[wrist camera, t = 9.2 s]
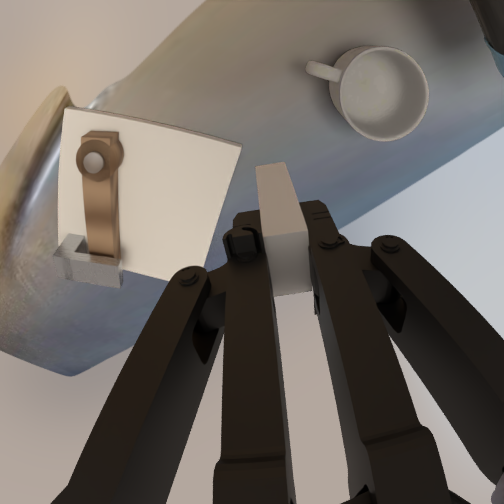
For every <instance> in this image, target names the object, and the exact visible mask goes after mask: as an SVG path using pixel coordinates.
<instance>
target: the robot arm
mask: <svg viewBox="0 0 504 504" xmlns="http://www.w3.org/2000/svg"><path fill="white" fill-rule="evenodd" d="M469 1H470V3H471V5H472V7H473V9H474V12H475V14H476V16H477V19H478V21H479V23H480V26H481V28H482V31H483V33H484V39H485V42H486V44H487V46H488V47H489V48H490V50H491V53H492V55H493V58H494V60H495V63H496V66H497V68H498V70H499V72H500V73H501V75H502V76H503V77H504V0H469ZM255 169H256V178H257V188H258V198H259V207H260V210H254V211H247V212H241V213H238V214H237V215H236V217H235V218H234V219H233V229H231V230H229V231H227V232H226V233H225V234H224V236H223V239H222V240H223V244H224V247H225V251H226V255H227V259H228V260H227V263H226V264H224V265H223V266H221V267H220V268H217V269H215V270H213V271H210V272H207V271H206V269H205V268H203V267H201V266H188V267H185V268H182V269H180V270H179V271H177V272H176V273H175V274H174V275H173V276H172V278H171V279H170V281H169V283H168V285H167V286H166V288H165V290H164V292H163V293H162V295H161V297H160V299H159V301H158V302H157V304H156V306H155V308H154V310H153V311H152V313H151V315H150V317H149V319H148V321H147V322H146V324H145V326H144V328H143V330H142V332H141V334H140V335H139V337H138V339H137V341H136V343H135V345H134V347H133V349H132V351H131V353H130V354H129V356H128V358H127V360H126V362H125V364H124V366H123V368H122V370H121V372H120V374H119V376H118V378H117V380H116V382H115V384H114V386H113V388H112V390H111V392H110V394H109V396H108V398H107V400H106V402H105V404H104V406H103V408H102V410H101V412H100V415H99V417H98V419H97V421H96V423H95V425H94V427H93V429H92V432H91V434H90V436H89V438H88V440H87V442H86V444H85V447H84V449H83V451H82V453H81V456H80V458H79V460H78V462H77V465H76V467H75V469H74V472H73V474H72V476H71V479H70V481H69V483H68V485H67V486H66V488H65V489H64V490H63V491H62V492H61V493H60V494H59V495H58V496H57V497H56V498H55V500H53V501H52V503H51V504H166V502H167V499H168V496H169V493H170V489H171V487H172V484H173V481H174V478H175V475H176V472H177V469H178V466H179V463H180V460H181V458H182V455H183V451H184V449H185V446H186V443H187V440H188V437H189V434H190V431H191V428H192V425H193V422H194V419H195V417H196V413H197V411H198V408H199V405H200V402H201V399H202V396H203V393H204V390H205V387H206V384H207V381H208V378H209V375H210V372H211V370H212V366H213V363H214V360H215V358H216V355H217V352H218V349H219V346H220V343H221V340H222V337H223V334H224V355H223V385H222V427H221V457H220V460H219V461H218V462H217V463H216V466H215V469H214V477H213V504H296V495H295V487H294V480H293V470H292V460H291V449H290V439H289V428H288V419H287V409H286V399H285V391H284V381H283V371H282V362H281V353H280V344H279V335H278V326H277V318H276V309H275V303H274V297H275V296H283V295H289V294H295V293H301V292H308V291H312V286H313V291H314V308H315V309H314V310H315V315H316V314H317V316H318V320H319V324H320V329H321V333H322V338H323V342H324V347H325V351H326V356H327V361H328V365H329V370H330V375H331V380H332V385H333V389H334V395H335V400H336V404H337V410H338V415H339V421H340V426H341V431H342V437H343V443H344V448H345V454H346V460H347V465H348V486H349V495H350V500H348V501H346V502H343V503H341V504H471V503H469V502H467V501H466V500H464V499H463V498H461V497H460V496H458V495H457V494H455V493H453V492H452V491H450V490H448V486H447V482H446V478H445V474H444V470H443V466H442V463H441V459H440V456H439V452H438V448H437V445H436V442H435V439H434V437H433V434H432V433H431V431H430V430H429V429H428V428H427V427H425V426H422V425H421V424H420V422H419V420H418V418H417V414H416V411H415V408H414V405H413V402H412V399H411V396H410V393H409V390H408V387H407V384H406V381H405V378H404V375H403V372H402V370H401V367H400V364H399V361H398V359H397V356H396V353H395V351H394V348H393V345H392V343H391V340H390V337H391V338H392V340H393V341H394V342H395V344H396V345H397V346H398V348H399V349H400V351H401V352H402V354H403V355H404V356H405V358H406V359H407V361H408V362H409V363H410V365H411V366H412V368H413V369H414V371H415V372H416V373H417V375H418V376H419V378H420V379H421V381H422V382H423V383H424V385H425V386H426V388H427V389H428V391H429V392H430V394H431V395H432V397H433V398H434V400H435V401H436V403H437V404H438V406H439V407H440V409H441V410H442V412H443V413H444V415H445V416H446V418H447V419H448V421H449V422H450V424H451V426H452V427H453V428H454V430H455V432H456V433H457V435H458V436H459V438H460V440H461V441H462V443H463V444H464V446H465V447H466V449H467V451H468V452H469V454H470V456H471V457H472V459H473V460H474V462H475V463H476V465H477V466H478V467H479V469H480V470H481V471H482V473H483V474H484V475H485V476H486V477H487V478H488V479H489V480H490V481H491V482H492V483H494V484H495V485H496V488H495V491H494V492H493V494H492V496H491V502H492V504H504V340H503V338H502V337H501V336H500V335H499V334H498V333H497V332H496V331H495V329H494V328H493V327H492V326H491V325H490V324H489V323H488V322H487V321H486V319H485V318H484V317H483V316H482V315H481V314H480V313H479V312H478V311H477V310H476V309H475V308H474V307H473V306H472V305H471V304H470V303H469V301H467V300H466V298H465V297H464V296H463V295H462V294H461V293H460V292H459V291H458V290H457V289H456V288H455V287H454V286H453V285H452V284H451V283H450V282H449V281H447V279H445V277H443V276H442V275H441V274H440V273H439V272H438V271H437V270H436V269H435V268H434V267H433V266H432V265H431V264H430V263H429V262H427V260H426V259H424V258H423V257H422V256H421V255H420V254H419V253H418V252H417V251H416V250H415V249H413V248H412V247H411V246H410V245H409V244H408V243H407V242H406V241H405V240H403V239H401V238H400V237H397V236H393V235H383V236H379V237H377V238H375V239H374V240H373V241H372V243H371V247H366V246H356V245H352V244H349V241H348V240H347V239H346V238H345V237H344V236H343V235H341V234H339V232H338V230H337V228H336V226H335V223H334V221H333V219H332V217H331V215H330V213H329V211H328V209H327V207H326V205H325V204H324V203H322V202H321V201H319V200H314V201H307V202H300V203H299V202H298V199H297V196H296V193H295V190H294V187H293V184H292V181H291V179H290V176H289V173H288V170H287V167H286V165H285V162H280V163H273V164H266V165H260V166H255ZM388 334H389V335H388ZM389 336H390V337H389Z"/></svg>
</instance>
